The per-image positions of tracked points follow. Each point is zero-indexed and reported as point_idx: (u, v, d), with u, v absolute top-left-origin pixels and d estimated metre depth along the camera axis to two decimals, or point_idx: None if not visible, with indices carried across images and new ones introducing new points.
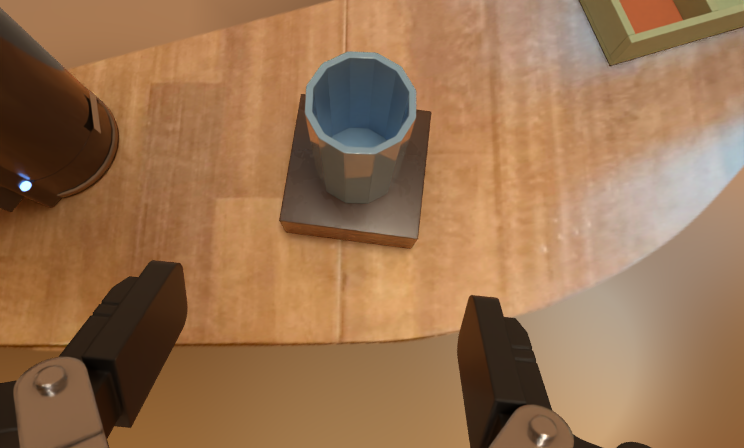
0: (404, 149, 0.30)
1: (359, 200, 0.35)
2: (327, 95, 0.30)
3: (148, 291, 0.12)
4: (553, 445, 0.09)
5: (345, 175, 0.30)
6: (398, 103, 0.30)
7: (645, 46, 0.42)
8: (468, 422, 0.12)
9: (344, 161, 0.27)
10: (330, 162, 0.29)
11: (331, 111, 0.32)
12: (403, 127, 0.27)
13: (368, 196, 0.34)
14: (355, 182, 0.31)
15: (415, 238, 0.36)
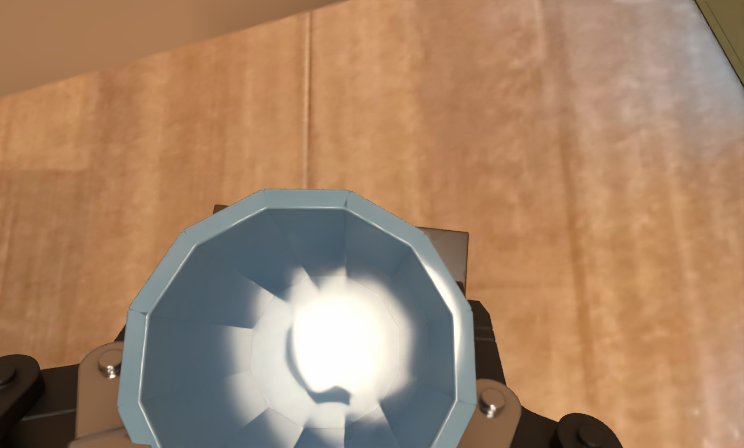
0: None
1: None
2: (227, 276, 0.11)
3: None
4: (501, 415, 0.10)
5: None
6: (414, 297, 0.11)
7: None
8: None
9: None
10: None
11: (255, 281, 0.14)
12: (438, 445, 0.08)
13: None
14: None
15: None
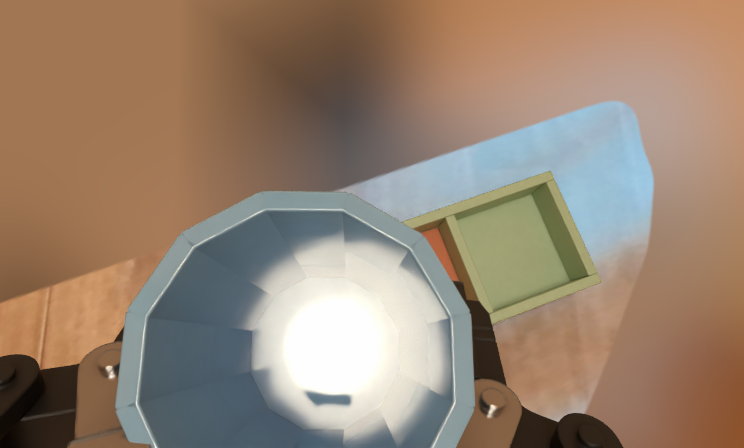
0: None
1: None
2: (226, 278, 0.11)
3: None
4: (501, 415, 0.10)
5: None
6: (413, 299, 0.11)
7: None
8: None
9: None
10: None
11: (254, 282, 0.14)
12: (436, 447, 0.08)
13: None
14: None
15: None
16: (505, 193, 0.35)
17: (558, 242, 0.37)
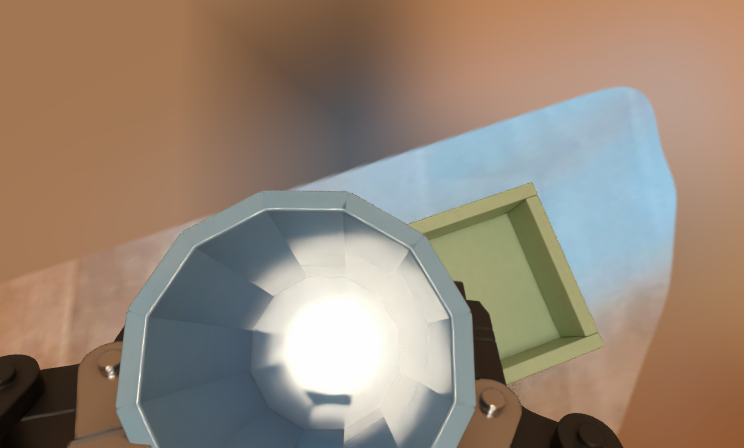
0: None
1: None
2: (227, 278, 0.11)
3: None
4: (501, 415, 0.10)
5: None
6: (413, 299, 0.11)
7: None
8: None
9: None
10: None
11: (254, 282, 0.14)
12: (437, 447, 0.08)
13: None
14: None
15: None
16: (466, 215, 0.25)
17: (543, 283, 0.26)
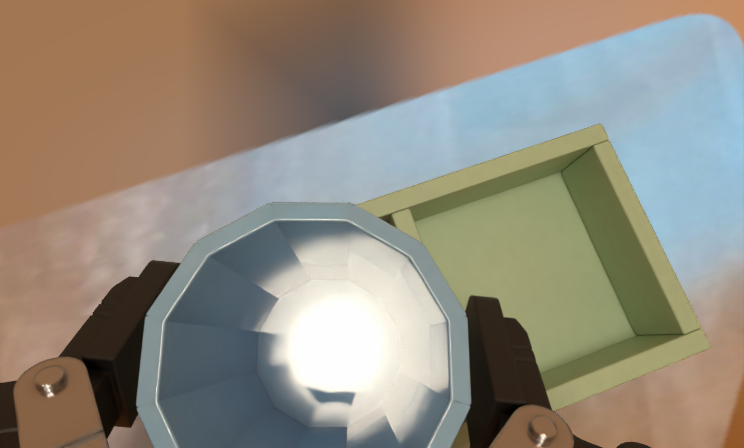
0: None
1: None
2: (236, 283, 0.12)
3: (148, 291, 0.12)
4: (553, 445, 0.09)
5: None
6: (413, 303, 0.12)
7: None
8: (468, 422, 0.12)
9: None
10: None
11: (261, 286, 0.15)
12: (435, 442, 0.09)
13: None
14: None
15: None
16: (512, 167, 0.18)
17: (613, 263, 0.19)
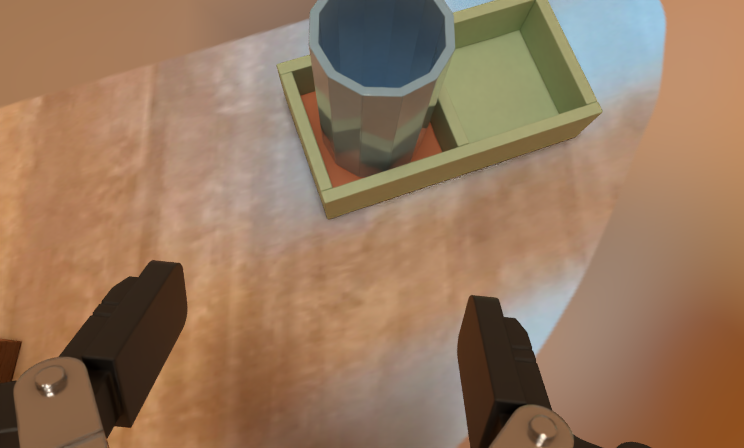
0: (435, 100, 0.24)
1: (376, 172, 0.29)
2: (336, 32, 0.23)
3: (148, 291, 0.12)
4: (553, 445, 0.09)
5: (361, 133, 0.23)
6: (427, 40, 0.23)
7: (364, 198, 0.28)
8: (468, 422, 0.12)
9: (361, 110, 0.21)
10: (342, 115, 0.23)
11: (340, 59, 0.26)
12: (439, 61, 0.20)
13: (387, 166, 0.28)
14: (373, 144, 0.25)
15: None
16: (485, 11, 0.29)
17: (550, 80, 0.31)
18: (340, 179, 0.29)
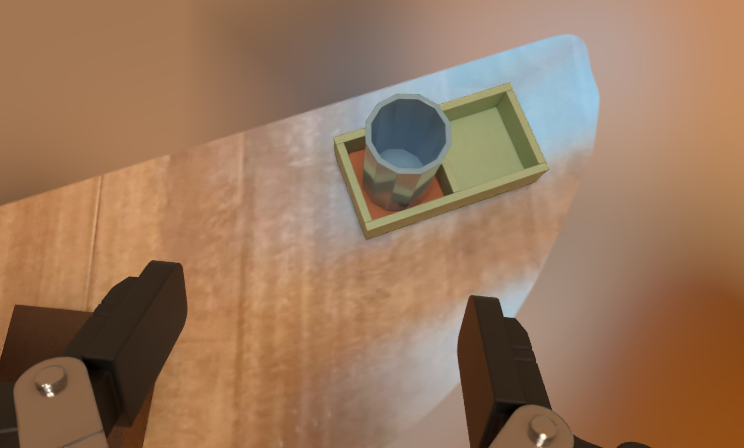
0: (439, 167, 0.38)
1: (399, 208, 0.43)
2: (377, 126, 0.38)
3: (148, 291, 0.12)
4: (553, 445, 0.09)
5: (393, 189, 0.38)
6: (434, 132, 0.37)
7: (391, 226, 0.42)
8: (468, 422, 0.12)
9: (395, 179, 0.35)
10: (382, 179, 0.37)
11: (377, 137, 0.40)
12: (442, 152, 0.34)
13: (407, 205, 0.42)
14: (399, 194, 0.39)
15: None
16: (472, 99, 0.43)
17: (516, 143, 0.45)
18: (374, 212, 0.43)
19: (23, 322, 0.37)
